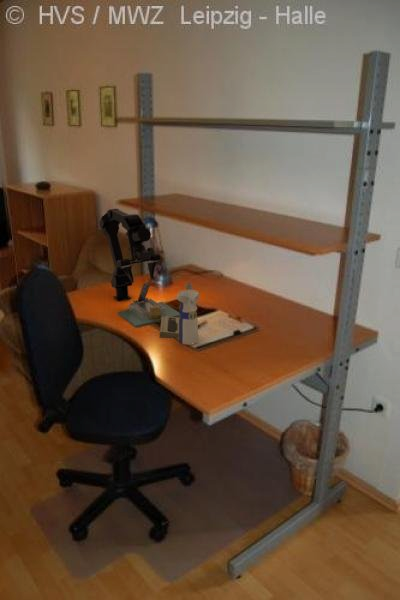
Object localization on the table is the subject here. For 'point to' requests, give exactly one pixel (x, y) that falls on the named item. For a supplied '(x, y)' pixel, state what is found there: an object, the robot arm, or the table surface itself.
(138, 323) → the board
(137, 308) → the heat sink
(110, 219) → the robot arm
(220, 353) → the table surface
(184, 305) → the water bottle
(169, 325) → the computer
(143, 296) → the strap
